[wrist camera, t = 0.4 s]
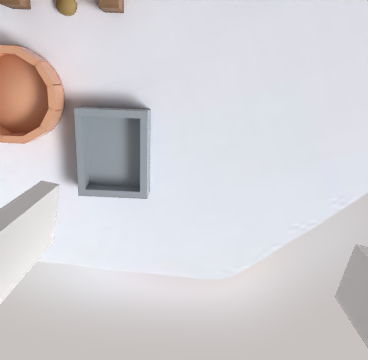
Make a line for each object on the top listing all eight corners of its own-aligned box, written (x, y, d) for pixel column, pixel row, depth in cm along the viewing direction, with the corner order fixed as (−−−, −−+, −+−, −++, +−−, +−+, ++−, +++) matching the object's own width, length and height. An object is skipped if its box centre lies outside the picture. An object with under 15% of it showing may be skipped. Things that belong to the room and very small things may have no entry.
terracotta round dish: (-30, 45, 37) (-47, 43, 35) (61, 49, 37) (51, 47, 34) (-18, 137, 40) (-33, 141, 37) (67, 140, 40) (58, 145, 37)
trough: (81, 106, 39) (73, 108, 36) (150, 109, 39) (147, 111, 36) (85, 188, 42) (78, 195, 39) (149, 191, 41) (146, 198, 39)
